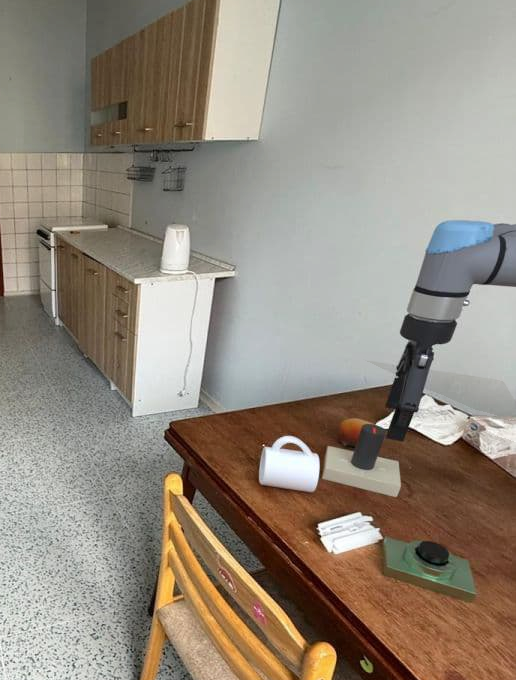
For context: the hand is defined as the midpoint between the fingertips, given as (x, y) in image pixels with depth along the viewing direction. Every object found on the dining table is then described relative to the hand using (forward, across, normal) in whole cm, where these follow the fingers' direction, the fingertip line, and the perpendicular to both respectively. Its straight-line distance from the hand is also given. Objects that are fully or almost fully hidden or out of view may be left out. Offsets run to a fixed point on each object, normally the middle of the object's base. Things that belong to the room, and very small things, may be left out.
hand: (393, 422), depth 92 cm
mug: (+17, -6, +16) cm, 24 cm away
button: (+13, -20, -8) cm, 26 cm away
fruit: (+17, +20, +3) cm, 26 cm away
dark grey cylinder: (+14, +5, +2) cm, 15 cm away
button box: (+17, -20, -8) cm, 28 cm away
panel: (+17, +6, +2) cm, 18 cm away
